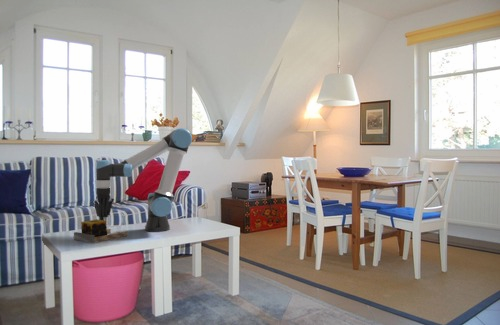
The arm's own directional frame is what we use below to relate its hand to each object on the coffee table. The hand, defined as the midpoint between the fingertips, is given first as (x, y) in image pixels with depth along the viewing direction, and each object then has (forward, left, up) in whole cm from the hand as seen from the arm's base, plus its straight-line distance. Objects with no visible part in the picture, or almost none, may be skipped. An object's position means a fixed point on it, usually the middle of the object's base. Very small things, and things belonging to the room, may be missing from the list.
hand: (103, 228), depth 227 cm
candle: (+7, +2, -5) cm, 9 cm away
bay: (+2, +1, -5) cm, 5 cm away
